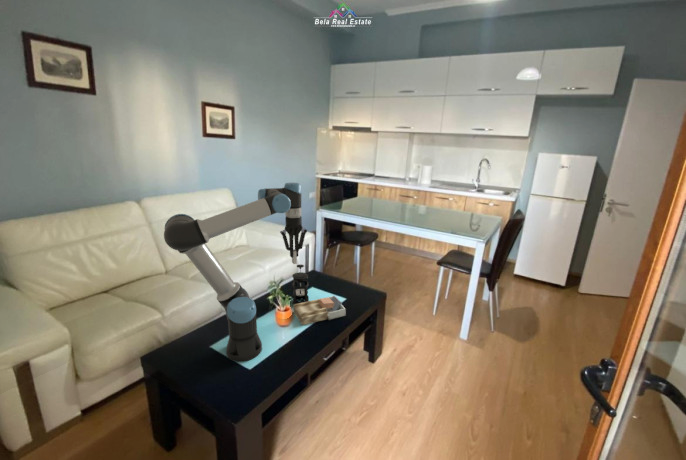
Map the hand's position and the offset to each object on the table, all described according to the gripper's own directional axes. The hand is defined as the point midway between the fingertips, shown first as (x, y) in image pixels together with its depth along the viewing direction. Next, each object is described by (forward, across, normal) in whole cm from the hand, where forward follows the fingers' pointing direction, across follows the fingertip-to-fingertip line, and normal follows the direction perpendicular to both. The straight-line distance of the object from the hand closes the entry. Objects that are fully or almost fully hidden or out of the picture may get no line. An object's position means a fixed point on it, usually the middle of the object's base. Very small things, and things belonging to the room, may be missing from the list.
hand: (294, 262), depth 156 cm
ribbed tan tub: (+32, +9, +2) cm, 34 cm away
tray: (+32, +21, +2) cm, 39 cm away
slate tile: (+28, +22, +2) cm, 36 cm away
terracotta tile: (+29, +18, +2) cm, 34 cm away
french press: (+33, +9, +18) cm, 38 cm away
